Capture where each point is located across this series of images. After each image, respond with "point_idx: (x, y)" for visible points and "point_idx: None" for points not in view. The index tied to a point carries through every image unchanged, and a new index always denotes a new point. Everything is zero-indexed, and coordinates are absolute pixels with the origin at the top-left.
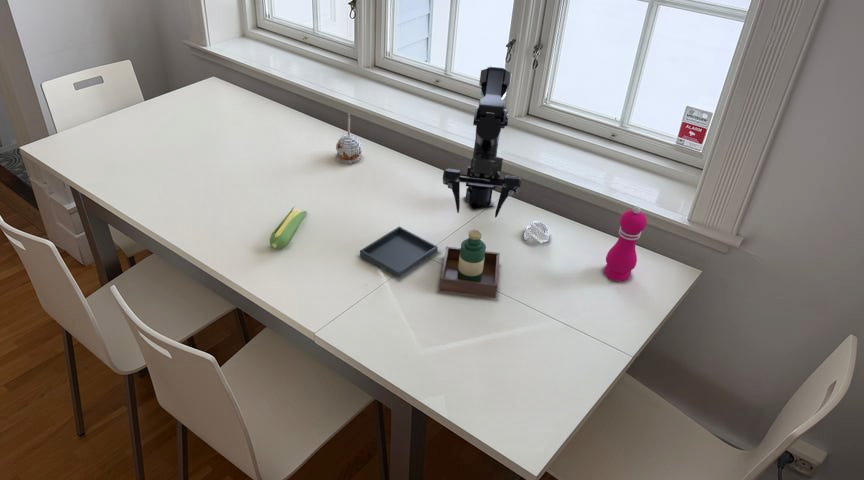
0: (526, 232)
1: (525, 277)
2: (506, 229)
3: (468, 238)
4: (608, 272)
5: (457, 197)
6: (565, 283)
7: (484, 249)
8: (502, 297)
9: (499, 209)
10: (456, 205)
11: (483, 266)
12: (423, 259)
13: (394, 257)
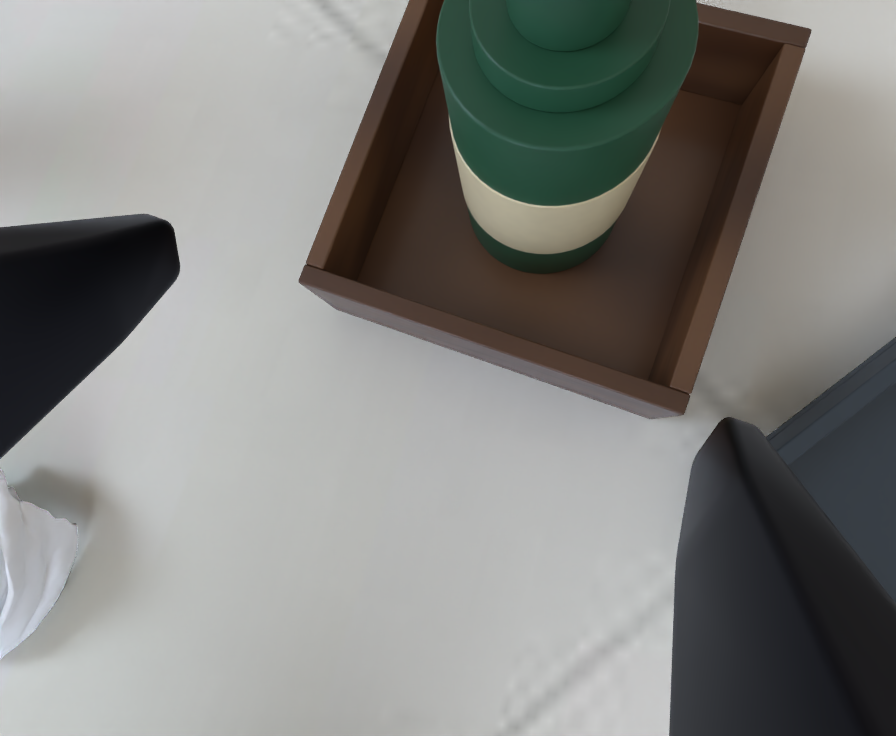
0: (30, 580)
1: (218, 191)
2: (144, 688)
3: (611, 72)
4: None
5: (887, 668)
6: (41, 126)
7: None
8: None
9: (20, 229)
10: (817, 505)
11: (425, 291)
12: (830, 396)
13: None
